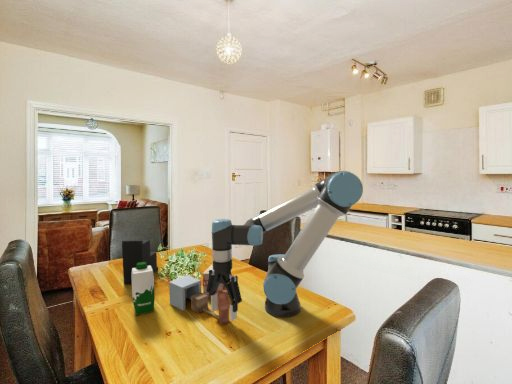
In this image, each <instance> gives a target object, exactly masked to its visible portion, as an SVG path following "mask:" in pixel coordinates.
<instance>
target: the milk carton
mask: <svg viewBox="0 0 512 384" xmlns="http://www.w3.org/2000/svg"><path fill="white" fill-rule="evenodd" d="M154 276H155V273H154V274H153V269H152V267H151V265H149V266H147V263H146V262H139V263H137V267H135V268H132V277H131V279H132V284H131V294H132V295H131V296H132V305H133V307H134V308H133V309H134V313H135V315H136V316H140V315H143V314H147V313H152V312H154V311H155V298H156V297H155V296H156V295H155V277H154Z"/></svg>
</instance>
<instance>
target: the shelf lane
mask: <svg viewBox="0 0 512 384" xmlns="http://www.w3.org/2000/svg"><path fill="white" fill-rule="evenodd" d="M168 288H169V289H168V290H169V292H168V293H169V304H170V305H172V306H173V307H174V308H177V309H179V310H181V311H183V312H184V311H186V299H189V300H191V296H193V295H195V294H197V293H200V292H201V293H202V280H200V279H198V278H196V277H193V276H190V275H185V276H181V277H179V278H175V279H173V280H170V281H168Z"/></svg>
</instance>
